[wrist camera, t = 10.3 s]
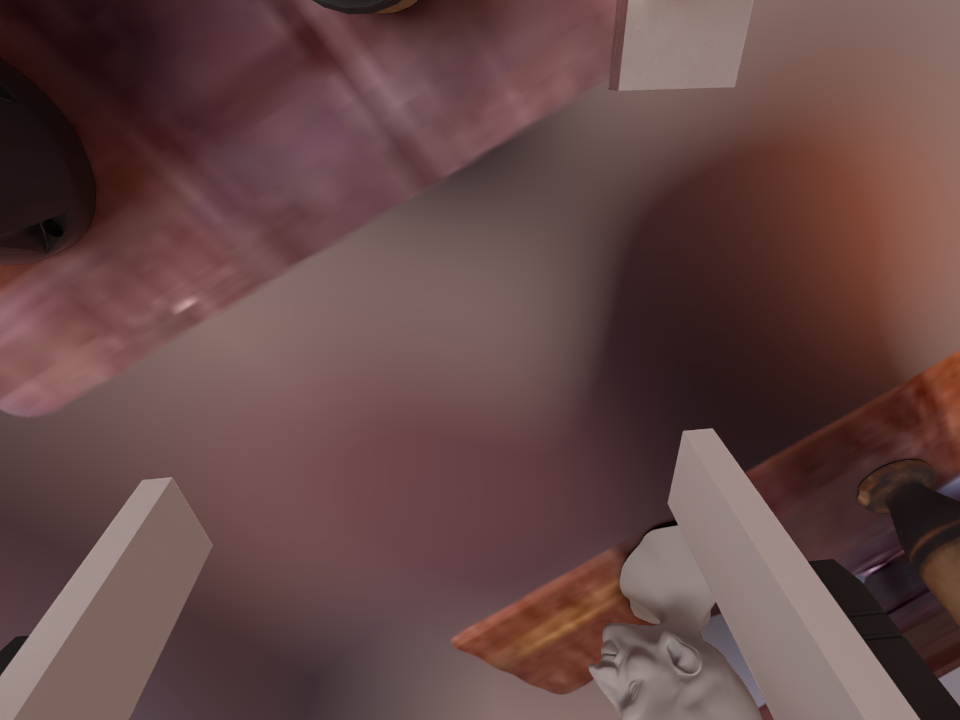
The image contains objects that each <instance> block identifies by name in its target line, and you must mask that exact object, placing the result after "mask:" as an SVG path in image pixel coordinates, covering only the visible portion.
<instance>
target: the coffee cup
mask: <svg viewBox="0 0 960 720" xmlns="http://www.w3.org/2000/svg"><path fill="white" fill-rule="evenodd" d="M313 1H315V2H316V3H318V4H319V5H321V6H323V7H325V8H329V9H332V10H336V11H339V12H343V13H346V14H368V13H394V12H397V11H400V10H403V9H405V8H408V7H410V6H411V5H412V4H413V3H415V2H416V1H417V0H313Z"/></svg>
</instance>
